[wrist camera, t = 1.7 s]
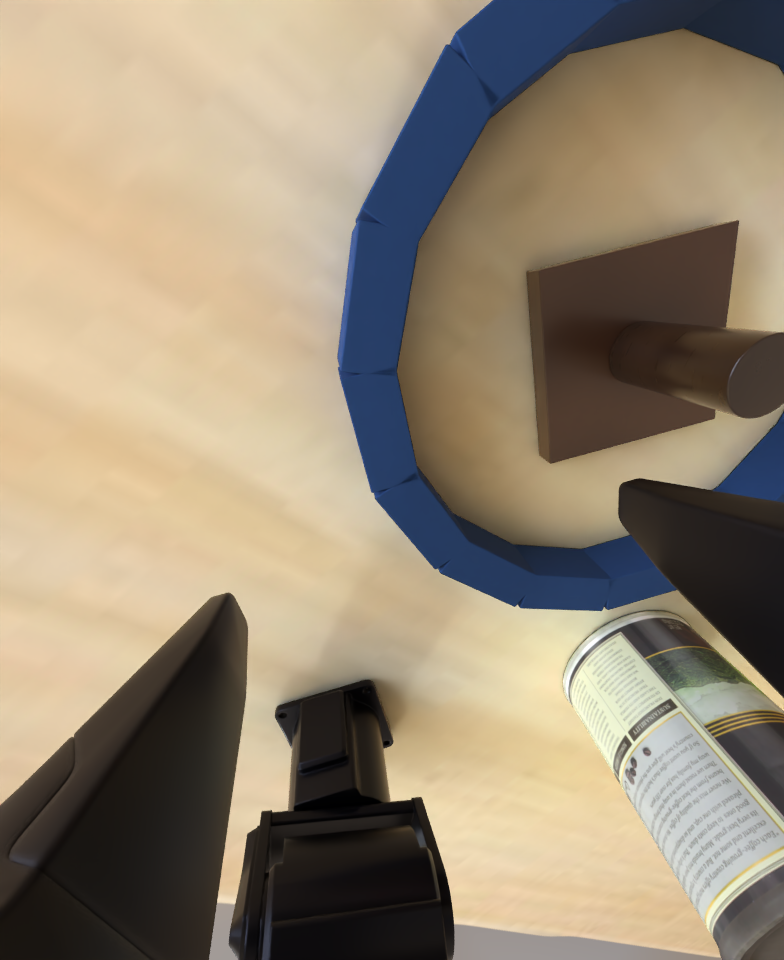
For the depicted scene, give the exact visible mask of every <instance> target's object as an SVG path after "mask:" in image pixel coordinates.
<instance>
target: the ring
mask: <svg viewBox="0 0 784 960" xmlns="http://www.w3.org/2000/svg"><path fill="white" fill-rule="evenodd" d="M681 28H685V29H687V30H690V31H693V32H695V33H698V34H700V35H703V36H706V37H708V38H711V39H713V40H716V41H718V42H721V43H724V44H726V45H729V46H731V47H734V48H737V49H739V50H742V51H744V52H747V53H750V54H752V55H755V56H757V57H760V58H763V59H765V60H768V61H770V62H773V63H776V64H778V65H779V67H780V68H781V70H782V71H783V73H784V0H493V1H492V2H490V3H489V4H488V5H487V6H486V7H485V8H483V9H482V10H481V11H480V12H479V13H478V14H476V15H475V16H474V17H473V18H472V19H471V20H469V21H468V22H467V23H466V24H465V25H464V26H462V27H461V28H460V29H459V30H458V31H457V32H456V33H455V35H454V37H453V39H452V41H451V43H450V45H448V44H447V45H446V46H445V48H444V49H443V51H442V53H441V55H440V57H439V59H438V61H437V63H436V65H435V67H434V69H433V71H432V73H431V75H430V76H429V78H428V80H427V82H426V84H425V86H424V88H423V90H422V92H421V94H420V96H419V98H418V100H417V102H416V104H415V105H414V107H413V109H412V111H411V113H410V115H409V117H408V119H407V121H406V123H405V125H404V127H403V129H402V131H401V132H400V134H399V136H398V138H397V140H396V142H395V144H394V146H393V148H392V150H391V152H390V154H389V156H388V158H387V159H386V161H385V163H384V165H383V167H382V169H381V171H380V173H379V175H378V177H377V179H376V181H375V183H374V185H373V187H372V188H371V190H370V192H369V194H368V196H367V198H366V200H365V202H364V204H363V206H362V208H361V210H360V212H359V214H358V216H357V219H356V223H357V224H356V226H355V228H354V230H353V232H352V238H351V246H350V255H349V264H348V272H347V281H346V289H345V298H344V306H343V315H342V324H341V332H340V341H339V349H338V362H339V366H340V367H338V370H339V375H340V379H341V383H342V387H343V390H344V394H345V398H346V401H347V405H348V409H349V412H350V416H351V420H352V423H353V427H354V430H355V434H356V438H357V441H358V445H359V449H360V452H361V456H362V459H363V463H364V467H365V470H366V474H367V478H368V481H369V485H370V488H371V492H372V493H374V495H375V499H376V500H377V502H378V503H379V504H380V505H381V506H382V508H383V509H384V510H385V511H386V512H387V513H388V515H389V516H390V517H391V518H392V519H393V520H394V522H395V523H396V524H397V525H398V526H399V528H400V529H401V530H402V531H403V532H404V533H405V535H406V536H407V537H408V538H409V539H410V541H411V542H412V543H413V544H414V545H415V546H416V548H417V549H418V550H419V551H420V552H421V553H422V555H423V556H424V557H425V558H426V559H427V561H428V562H429V563H430V564H431V565H432V566H433V568H434V569H437V568H438V569H439V572H440V573H441V574H443V575H445V576H448V577H450V578H452V579H454V580H457V581H459V582H461V583H463V584H465V585H468V586H470V587H472V588H474V589H476V590H479V591H481V592H483V593H485V594H488V595H490V596H492V597H494V598H496V599H499V600H501V601H503V602H505V603H507V604H510V605H512V606H514V607H515V606H516V605H517V604H518V605H519V607H520V608H529V609H559V610H589V611H602V610H603V608H604V607H605V608H606V609H607V610H610V609H613V608H616V607H620V606H623V605H627V604H630V603H633V602H637V601H640V600H644V599H647V598H650V597H654V596H657V595H661V594H664V593H668V592H671V591H674V590H677V589H676V588H675V587H674V586H673V585H672V584H671V583H670V582H669V581H668V580H667V579H666V577H665V576H664V575H663V574H662V573H661V572H660V571H659V570H658V568H657V567H656V566H655V565H654V564H653V562H652V561H651V560H650V559H649V557H648V556H647V555H646V554H645V552H644V551H643V550H642V549H641V547H640V546H639V545H638V544H637V542H636V541H635V540H634V539H633V537H632V536H631V535H629V536H626V537H622V538H619V539H615V540H612V541H608V542H605V543H601V544H598V545H594V546H591V547H587V548H584V549H573V548H558V547H543V546H528V545H514V544H511V543H509V542H507V541H506V540H504V539H502V538H500V537H498V536H496V535H494V534H492V533H490V532H488V531H486V530H484V529H482V528H481V527H479V526H477V525H475V524H473V523H471V522H469V521H467V520H465V519H463V518H461V517H459V516H457V515H455V514H454V513H452V512H451V510H450V509H449V508H448V506H447V505H446V504H445V502H444V501H443V500H442V498H441V497H440V496H439V494H438V493H437V492H436V490H435V489H434V488H433V486H432V485H431V484H430V482H429V481H428V480H427V478H426V477H425V476H424V474H423V473H422V472H421V470H420V469H419V468H418V466H417V464H416V460H415V455H414V450H413V446H412V441H411V436H410V432H409V427H408V422H407V418H406V413H405V408H404V404H403V399H402V394H401V390H400V385H399V380H398V376H397V367H398V361H399V355H400V349H401V343H402V337H403V332H404V326H405V320H406V314H407V308H408V303H409V297H410V291H411V285H412V279H413V273H414V268H415V262H416V256H417V250H418V244H419V241H420V239H421V237H422V236H423V234H424V232H425V230H426V229H427V227H428V225H429V223H430V222H431V220H432V218H433V216H434V215H435V213H436V211H437V209H438V208H439V206H440V204H441V202H442V200H443V199H444V197H445V195H446V193H447V192H448V190H449V188H450V186H451V185H452V183H453V181H454V179H455V178H456V176H457V174H458V172H459V171H460V169H461V167H462V165H463V164H464V162H465V160H466V158H467V157H468V155H469V153H470V151H471V150H472V148H473V146H474V144H475V143H476V141H477V139H478V137H479V135H480V134H481V132H482V130H483V128H484V127H485V125H486V123H487V121H488V120H489V119H490V118H491V117H492V116H494V115H495V114H496V113H497V112H499V111H500V110H501V109H502V108H503V107H505V106H506V105H507V104H508V103H510V102H511V101H512V100H513V99H515V98H516V97H517V96H518V95H519V94H521V93H522V92H523V91H524V90H526V89H527V88H528V87H529V86H530V85H532V84H533V83H534V82H535V81H537V80H538V79H539V78H540V77H541V76H543V75H544V74H545V73H546V72H548V71H549V70H550V69H551V68H553V67H554V66H555V65H556V64H557V63H559V62H560V61H561V60H562V59H564V58H565V57H566V56H567V55H568V54H571V53H575V52H579V51H584V50H588V49H593V48H597V47H602V46H606V45H610V44H615V43H619V42H624V41H628V40H633V39H637V38H641V37H646V36H650V35H655V34H659V33H663V32H668V31H672V30H677V29H681ZM712 491H718V492H724V493H730V494H736V495H742V496H748V497H754V498H760V499H766V500H772V501H778V502H784V412H783V414H782V416H781V417H780V419H779V421H778V423H777V424H776V425H775V426H774V427H773V428H772V430H771V431H770V432H769V433H768V434H767V435H766V436H765V437H764V438H763V439H762V440H761V441H760V442H759V444H758V445H757V446H756V447H755V448H754V449H753V450H752V451H751V452H750V453H749V454H748V455H747V456H746V458H745V459H744V460H743V461H742V462H741V463H740V464H739V465H738V466H737V467H736V468H735V469H734V470H733V472H732V473H731V474H730V475H729V476H728V477H727V478H726V479H725V480H724V481H723V482H722V483H721V485H720V486H718V487H717V488H715V489H714V490H712Z"/></svg>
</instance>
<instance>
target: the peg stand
mask: <svg viewBox="0 0 784 960" xmlns="http://www.w3.org/2000/svg"><path fill="white" fill-rule="evenodd" d="M738 226H739V221H738V220H736V221H731V222H725V223H719V224H714V225H710V226H706V227H702V228H698V229H694V230H690V231H686V232H682V233H678V234H674V235H670V236H666V237H662V238H658V239H654V240H650V241H646V242H642V243H638V244H634V245H630V246H626V247H622V248H618V249H614V250H611V251H607V252H603V253H599V254H595V255H591V256H587V257H583V258H579V259H575V260H571V261H567V262H563V263H559V264H555V265H551V266H547V267H543V268H539V269H535V270H531V271H527V285H528V299H529V313H530V327H531V341H532V356H533V370H534V384H535V398H536V412H537V426H538V440H539V454H540V456H541V457H542V458H544V459H545V460H546V461H548V462H549V463H555V462H558V461H562V460H566V459H569V458H573V457H577V456H580V455H584V454H587V453H591V452H595V451H598V450H602V449H606V448H609V447H613V446H617V445H620V444H624V443H628V442H631V441H635V440H639V439H642V438H646V437H650V436H653V435H657V434H660V433H664V432H668V431H671V430H675V429H679V428H682V427H686V426H690V425H693V424H697V423H701V422H704V421H708V420H712V419H714V418H715V410H718V411H722V412H725V413H728V414H732V415H735V416H739V417H742V418H757V417H761V416H764V415H766V414H769V413H771V412H772V411H774V410H775V409H777V408H778V407H780V406H781V405H782V404H783V403H784V333H783V332H771V331H760V330H748V329H736V328H726V322H727V314H728V306H729V298H730V290H731V282H732V274H733V266H734V258H735V250H736V242H737V234H738Z"/></svg>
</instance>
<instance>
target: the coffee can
mask: <svg viewBox="0 0 784 960" xmlns="http://www.w3.org/2000/svg"><path fill="white" fill-rule="evenodd" d="M563 689H564V693H565V695H566V698H567V700H568V701H569V703H570V704H571V705H572V706H573V708H574V709H575V711H576V712H577V714H578V715H579V717H580V719H581V720H582V722H583V724H584V725H585V727H586V729H587V730H588V732H589V734H590V735H591V737H592V739H593V740H594V742H595V744H596V745H597V747H598V749H599V750H600V752H601V753H602V755H603V757H604V758H605V760H606V762H607V763H608V765H609V767H610V768H611V770H612V772H613V773H614V775H615V777H616V778H617V780H618V782H619V783H620V785H621V787H622V788H623V790H624V792H625V793H626V795H627V797H628V798H629V800H630V802H631V803H632V805H633V807H634V808H635V810H636V812H637V813H638V815H639V816H640V818H641V820H642V821H643V823H644V825H645V826H646V828H647V830H648V831H649V833H650V834H651V836H652V838H653V839H654V841H655V843H656V844H657V846H658V848H659V849H660V851H661V853H662V854H663V856H664V858H665V859H666V861H667V863H668V864H669V866H670V868H671V869H672V871H673V873H674V874H675V876H676V878H677V879H678V881H679V883H680V884H681V886H682V887H683V889H684V891H685V892H686V894H687V896H688V897H689V899H690V901H691V902H692V904H693V906H694V907H695V909H696V911H697V912H698V914H699V915H700V917H701V919H702V920H703V922H704V924H705V925H706V927H707V928H708V930H709V932H710V933H711V935H712V937H713V938H714V940H715V942H716V943H717V945H718V948H719V951H720V956H721V958H722V960H784V711H783V710H782V709H781V708H779V707H778V706H777V705H776V704H775V703H774V702H773V701H772V700H770V699H769V698H768V697H767V696H766V695H765V694H764V693H763V692H762V691H760V690H759V689H758V688H757V687H756V686H755V685H754V684H753V683H752V682H750V681H749V680H748V679H747V678H746V677H745V676H744V675H743V674H742V673H741V672H739V671H738V670H737V669H736V668H735V667H734V666H733V665H732V664H731V663H729V662H728V661H727V660H726V659H725V658H724V657H723V656H722V655H720V654H719V652H718V651H716V650H715V649H714V648H713V647H712V646H711V645H710V644H709V643H707V642H706V641H705V640H704V639H703V638H702V637H701V636H700V635H699V634H697V633H696V632H695V631H694V630H693V629H692V628H691V626H690V625H689V624H688V623H687V622H686V621H685V620H684V619H682V618H681V617H679V616H677V615H675V614H672V613H669V612H665V611H643V612H637V613H633V614H630V615H626V616H623V617H621V618H619V619H616V620H614V621H612V622H610V623H608V624H606V625H604V626H603V627H602V628H600V629H599V630H597V631H596V632H594V633H593V634H592V635H590V636H589V637H588V638H587V639H586V640H585V641H584V642H583V643H582V644H581V645H580V646H579V648H578V649H577V650H576V651H575V652H574V654H573V655H572V657H571V658H570V660H569V662H568V664H567V667H566V670H565V672H564V677H563Z"/></svg>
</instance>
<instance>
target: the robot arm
mask: <svg viewBox="0 0 784 960" xmlns="http://www.w3.org/2000/svg"><path fill="white" fill-rule="evenodd" d="M618 514H619V519H620V521H621V523H622V525H623V526H624V527H625V529H626V530H627V531H628V532H629V534H630V535H631V536H632V537H633V539H634V540H635V541H636V542H637V544H638V545H639V546H640V547H641V549H642V550H643V551H644V552H645V554H646V555H647V556H648V557H649V559H650V560H651V561H652V562H653V564H654V565H655V566H656V567H657V568H658V570H659V571H660V572H661V573H662V574H663V575H664V576H665V577H666V579H667V580H668V581H669V582H670V583H671V584H672V585H673V586H674V587H675V588H676V589H677V590H678V591H679V592H680V593H681V594H682V595H683V596H684V597H685V598H686V599H687V600H688V601H689V602H690V603H691V604H692V605H693V606H694V607H695V608H696V609H697V610H698V611H699V612H700V613H701V614H702V615H703V616H704V617H705V618H706V619H707V620H708V621H709V622H710V624H711V625H712V626H713V627H714V628H715V629H716V630H717V631H718V632H719V633H720V634H721V635H722V636H723V637H724V638H725V639H726V640H727V641H728V642H729V643H730V644H731V645H732V646H733V647H734V648H735V649H736V650H737V651H738V652H739V653H740V654H741V655H742V656H743V657H744V658H745V659H746V660H747V661H748V662H749V663H750V664H751V665H752V666H753V667H754V668H755V669H756V670H757V671H758V672H759V673H760V674H761V675H762V676H763V677H764V678H765V679H766V680H767V681H768V682H769V683H770V685H771V686H772V687H773V688H774V689H775V690H776V691H777V692H778V693H779V694H780V695H781V696H782V697H783V698H784V502H778V501H772V500H766V499H760V498H754V497H748V496H742V495H736V494H730V493H724V492H718V491H712V490H706V489H700V488H694V487H688V486H682V485H677V484H671V483H665V482H659V481H653V480H647V479H640V478H639V479H634V480H631V481H627V482H624V483H622V484H621V485H620V487H619V507H618ZM247 647H248V626H247V622H246V619H245V617H244V615H243V613H242V611H241V609H240V607H239V605H238V603H237V601H236V599H235V597H234V596H233V595H232V594H231V593H225V594H221V595H218V596H214V597H212V598H210V599H209V600H208V601H207V602H206V603H205V604H204V605H203V606H202V607H201V608H200V609H199V610H198V611H197V612H196V613H195V614H194V615H193V616H192V617H191V618H190V619H189V620H188V621H187V622H186V623H185V624H184V625H183V626H182V627H181V628H180V629H179V630H178V631H177V632H176V633H175V634H174V635H173V636H172V637H171V638H170V639H169V640H168V641H167V642H166V643H165V644H164V645H163V646H162V647H161V648H160V649H159V650H158V651H157V652H156V653H155V654H154V655H153V656H152V657H151V658H150V659H149V660H148V661H147V662H146V663H145V664H144V665H143V666H142V667H141V668H140V669H139V670H138V671H137V672H136V673H135V674H134V675H133V676H132V677H131V678H130V679H129V680H128V681H127V682H126V683H125V684H124V685H123V686H122V687H121V688H120V689H119V690H118V691H117V692H116V693H115V694H114V695H113V696H112V697H111V698H110V699H109V700H108V701H107V702H106V703H105V704H104V705H103V706H102V707H101V708H100V709H99V710H98V711H97V712H96V713H95V714H94V715H93V716H92V717H91V718H90V719H89V720H88V721H87V722H86V723H85V724H84V725H83V726H82V727H81V728H80V729H79V730H78V731H77V732H76V733H75V734H74V737H71V738H69V739H68V740H67V741H66V742H65V743H64V744H63V745H62V746H61V747H60V748H59V749H58V750H57V751H56V752H55V753H54V754H53V755H52V756H51V757H50V758H49V759H48V760H47V761H46V762H45V763H44V764H43V765H42V766H41V767H40V768H39V769H38V770H37V771H36V772H35V773H34V774H33V775H32V776H31V777H30V778H29V779H28V780H27V781H26V782H25V783H24V784H23V785H22V786H21V787H20V788H18V789H17V790H16V791H15V792H14V793H13V794H12V795H11V796H10V797H9V798H8V799H7V800H6V801H4V802H3V803H2V804H1V805H0V960H209V954H210V947H211V940H212V933H213V926H214V919H215V912H216V905H217V898H218V891H219V884H220V877H221V870H222V863H223V856H224V849H225V842H226V834H227V827H228V820H229V813H230V806H231V799H232V792H233V785H234V778H235V771H236V764H237V757H238V750H239V743H240V736H241V729H242V722H243V715H244V708H245V699H246V685H247ZM275 718H276V720H277V722H278V724H279V726H280V727H281V729H282V731H283V733H284V735H285V737H286V739H287V741H288V742H289V744H290V746H291V748H292V758H291V773H290V789H289V804H288V811H282V812H272V810H270V811H262V813H261V820H260V826H257V828H256V829H254V830H253V831H251V832H250V833H248V834H247V840H246V848H245V855H244V862H243V869H242V875H241V880H240V885H239V890H238V894H237V899H236V904H235V909H234V914H233V918H232V923H231V929H230V936H229V946H230V948H231V949H232V951H233V952H234V954H235V955H236V957H237V958H238V960H452V959H453V955H454V919H453V910H452V902H451V896H450V890H449V885H448V880H447V876H446V873H445V869H444V866H443V862H442V859H441V856H440V853H439V850H438V847H437V844H436V841H435V837H434V834H433V831H432V828H431V825H430V822H429V819H428V816H427V813H426V809H425V806H424V803H423V800H422V797H416V798H412V799H411V800H405V801H394V802H390V794H389V787H388V780H387V772H386V765H385V758H384V750H383V748H387V747H389V746H391V745H392V744H393V736H392V733H391V730H390V727H389V724H388V721H387V719H386V716H385V713H384V710H383V707H382V704H381V702H380V699H379V696H378V693H377V690H376V687H375V685H374V682H373V681H371V680H364V681H360V682H357V683H354V684H350V685H347V686H343V687H340V688H337V689H333V690H330V691H326V692H323V693H319V694H316V695H313V696H309V697H306V698H302V699H299V700H296V701H292V702H289V703H285V704H282V705H279V706H278V707H277V708H276V710H275Z"/></svg>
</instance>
